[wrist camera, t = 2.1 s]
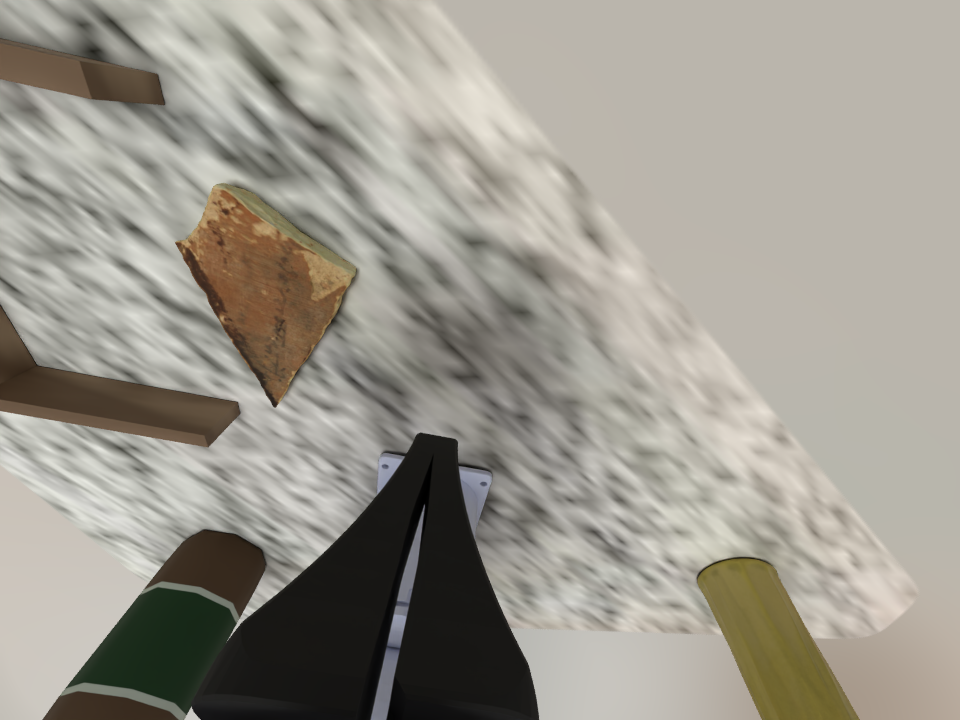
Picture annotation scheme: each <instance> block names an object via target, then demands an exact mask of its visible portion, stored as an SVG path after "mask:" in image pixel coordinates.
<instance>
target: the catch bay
mask: <svg viewBox="0 0 960 720" xmlns="http://www.w3.org/2000/svg"><path fill="white" fill-rule="evenodd" d="M0 79H3V80H7V81H12V82H16V83H21V84H25V85H30V86H34V87H39V88H44V89H48V90H53V91H57V92H62V93H66V94H71V95H75V96H80V97H84V98H89V99H95V100H108V101H120V102H133V103H145V104H158V105H165V104H164V100H163V96H162V92H161V88H160V84H159V80H158V76H157V74H155V73H150V72H146V71H142V70H137V69H133V68H128V67H124V66H119V65H115V64H111V63H106V62H102V61H97V60H93V59H89V58H84V57H80V56H75V55H71V54H67V53H62V52H58V51H53V50H49V49H45V48H40V47H36V46H31V45H27V44H23V43H18V42H14V41H9V40H5V39H1V38H0ZM0 411H3V412H9V413H15V414H21V415H26V416H32V417H38V418H43V419H49V420H55V421H61V422H66V423H72V424H78V425H83V426H89V427H95V428H101V429H106V430H112V431H118V432H123V433H129V434H135V435H141V436H146V437H152V438H158V439H163V440H169V441H175V442H181V443H186V444H192V445H198V446H203V447H209V446H210V445H211V444H212V443H213V442H214V441H215V440H216V439H217V438H218V437H219V435H220V434H221V433H222V432H223V431H224V430H225V429H226V428H227V427H228V426H229V425H230V424H231V423H232V422H233V421H234V420H235V419H236V417H237V416H238V415H239V414H240V411H239V407H238V403H237V402H233V401H227V400H222V399H216V398H211V397H205V396H200V395H194V394H189V393H183V392H178V391H172V390H167V389H161V388H156V387H150V386H145V385H139V384H134V383H128V382H123V381H117V380H112V379H106V378H101V377H95V376H90V375H84V374H79V373H73V372H68V371H62V370H57V369H51V368H46V367H40V366H37V365H36V364H35V362H34V360H33V359H32V357H31V356H30V354H29V352H28V351H27V349H26V347H25V346H24V344H23V342H22V341H21V339H20V337H19V336H18V334H17V333H16V331H15V329H14V328H13V326H12V324H11V323H10V321H9V319H8V318H7V316H6V314H5V313H4V311H3V309H2V308H1V306H0Z"/></svg>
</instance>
